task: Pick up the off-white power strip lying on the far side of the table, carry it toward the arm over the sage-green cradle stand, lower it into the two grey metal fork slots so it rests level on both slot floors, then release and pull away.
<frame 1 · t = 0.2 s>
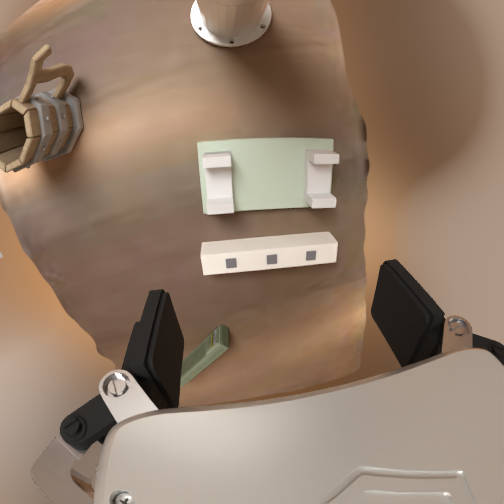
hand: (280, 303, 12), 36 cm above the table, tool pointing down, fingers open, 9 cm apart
power strip: (267, 245, 52), on the table
tankard: (64, 106, 34), on the table
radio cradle: (267, 172, 45), on the table
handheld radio: (195, 352, 65), on the table
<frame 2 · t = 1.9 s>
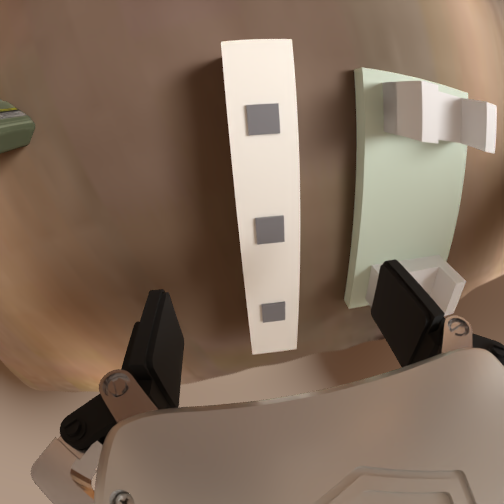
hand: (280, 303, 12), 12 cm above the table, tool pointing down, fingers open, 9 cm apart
power strip: (261, 203, 22), on the table
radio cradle: (409, 196, 22), on the table
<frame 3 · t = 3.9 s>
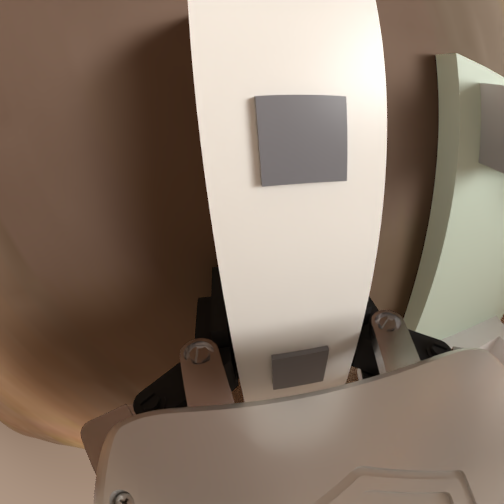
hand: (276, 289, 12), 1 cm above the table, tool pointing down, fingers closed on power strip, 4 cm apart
power strip: (274, 282, 13), on the table, touching gripper
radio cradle: (481, 248, 13), on the table
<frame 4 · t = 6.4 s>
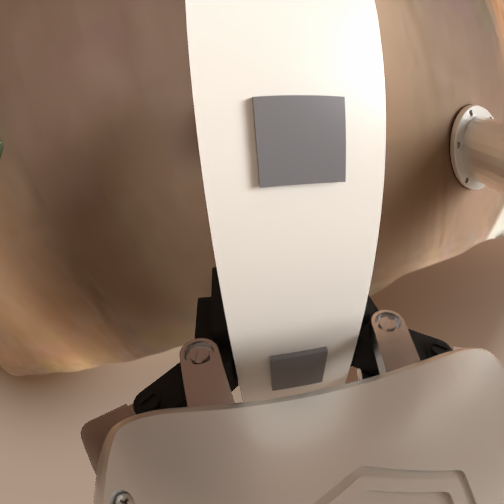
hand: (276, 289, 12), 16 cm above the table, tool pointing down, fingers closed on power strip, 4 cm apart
power strip: (273, 282, 13), point 16 cm above the table, touching gripper
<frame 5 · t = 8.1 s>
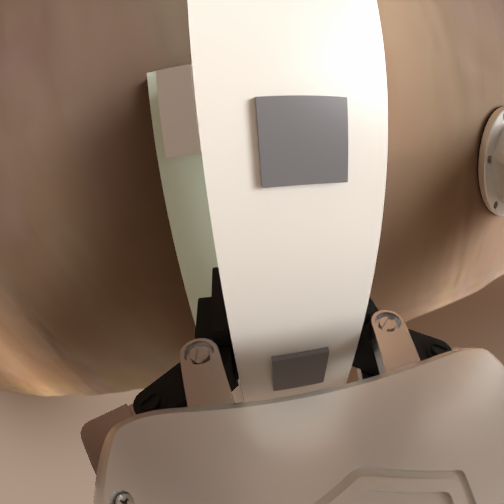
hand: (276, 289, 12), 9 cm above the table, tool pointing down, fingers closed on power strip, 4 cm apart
power strip: (274, 283, 13), point 8 cm above the table, touching gripper
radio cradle: (258, 217, 20), on the table
when the fingers open (5 cm above the table, at t = 9.0 s): power strip drops 1 cm, resting on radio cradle.
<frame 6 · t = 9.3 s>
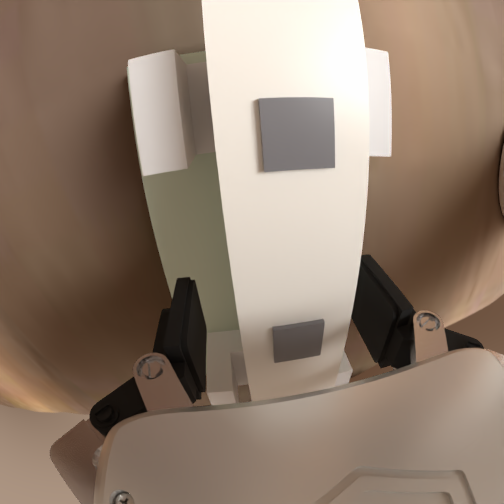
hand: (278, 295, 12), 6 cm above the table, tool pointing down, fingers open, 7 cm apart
power strip: (274, 267, 14), point 3 cm above the table, touching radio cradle
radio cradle: (261, 237, 17), on the table
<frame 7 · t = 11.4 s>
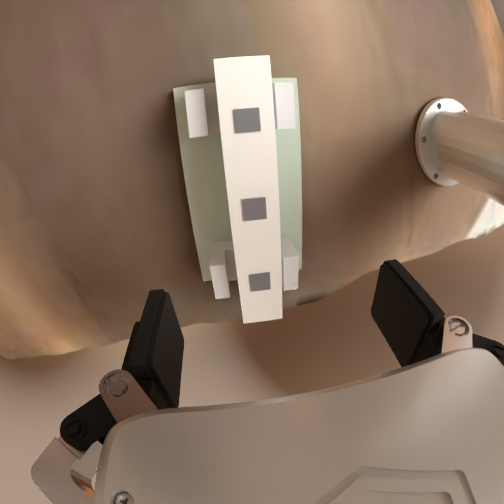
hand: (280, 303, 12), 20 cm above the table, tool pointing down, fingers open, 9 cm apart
power strip: (248, 191, 26), point 3 cm above the table, touching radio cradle
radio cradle: (243, 182, 29), on the table
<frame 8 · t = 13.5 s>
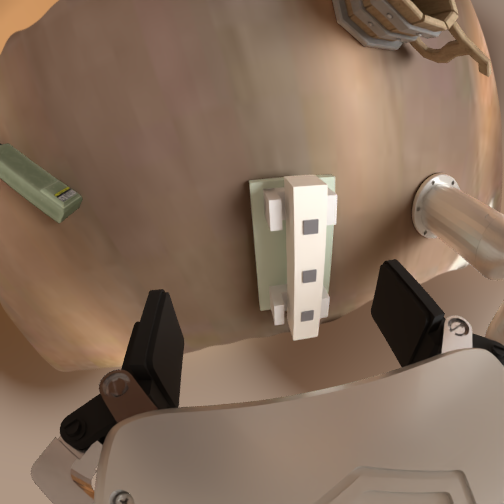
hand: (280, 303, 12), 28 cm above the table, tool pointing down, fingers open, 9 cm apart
power strip: (300, 256, 40), point 3 cm above the table, touching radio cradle
tankard: (387, 30, 27), on the table
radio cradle: (293, 245, 43), on the table
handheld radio: (29, 164, 31), on the table
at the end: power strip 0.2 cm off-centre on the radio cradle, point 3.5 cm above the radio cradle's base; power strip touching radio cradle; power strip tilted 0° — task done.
